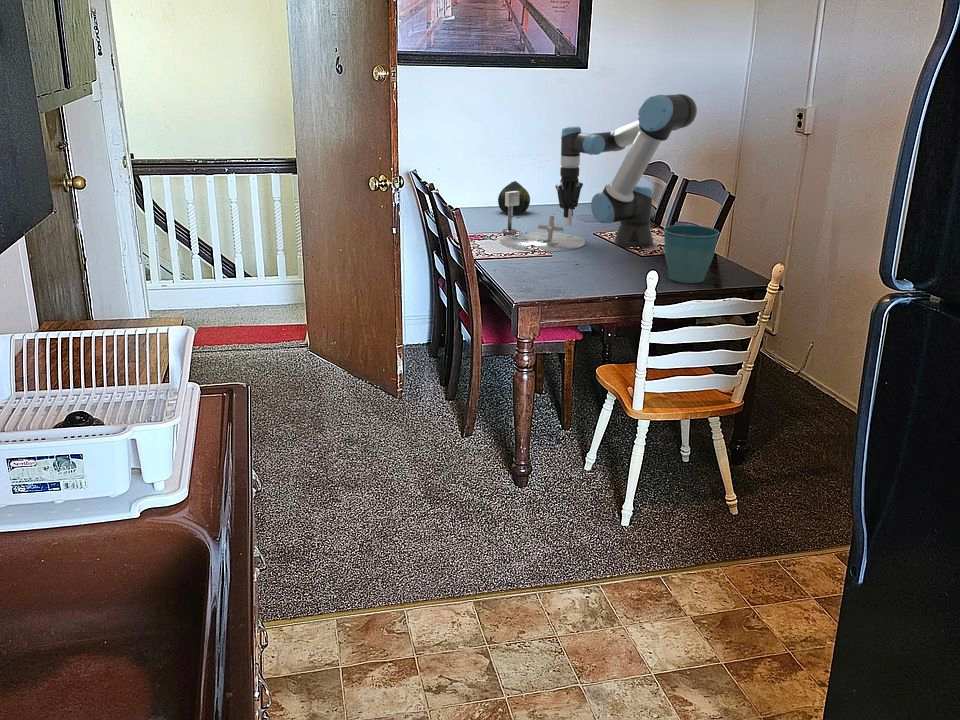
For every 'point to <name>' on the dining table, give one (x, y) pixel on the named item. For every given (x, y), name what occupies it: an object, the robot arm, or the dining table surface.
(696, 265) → the flower pot
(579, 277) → the dining table surface
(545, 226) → the pipe connector
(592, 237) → the dining table surface
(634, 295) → the dining table surface
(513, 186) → the squash
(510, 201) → the block topped stand
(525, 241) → the disc
